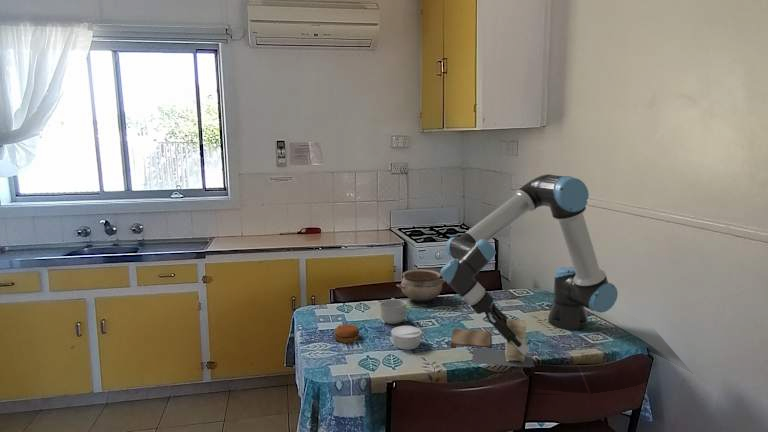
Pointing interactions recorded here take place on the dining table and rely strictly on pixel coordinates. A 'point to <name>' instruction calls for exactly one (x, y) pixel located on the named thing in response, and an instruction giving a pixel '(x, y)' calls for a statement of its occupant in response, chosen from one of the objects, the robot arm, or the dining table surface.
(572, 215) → the robot arm
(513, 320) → the maple block
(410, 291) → the cooking pot
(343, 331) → the burger
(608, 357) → the dining table surface
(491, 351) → the mat
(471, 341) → the walnut board
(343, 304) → the dining table surface
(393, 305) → the teacup
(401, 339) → the ramekin
